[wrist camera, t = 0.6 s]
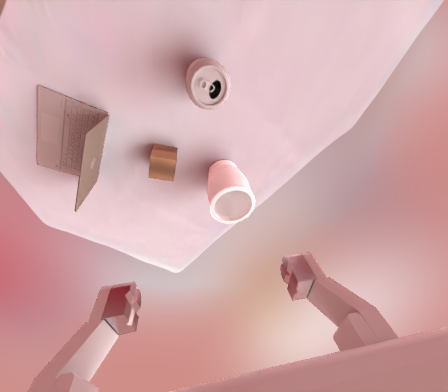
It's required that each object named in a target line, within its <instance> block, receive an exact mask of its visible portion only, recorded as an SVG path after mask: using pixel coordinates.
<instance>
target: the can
mask: <svg viewBox="0 0 448 392" xmlns="http://www.w3.org/2000/svg"><path fill="white" fill-rule="evenodd" d="M186 85H187V92H188V94H189V96H190V99H191V100H192V101H193V102H194V104H195V105H197V106H198V107H200V108H202V109H206V110H212V109H216V108H218V107H220V106H221V105H222V104H224V103H225V101H226V100H227V98H228V96H229V93H230V89H231V81H230V78H229V74H228V72H227V71H226V69H225V68H224V66H222V65H221V64H220V63H219V62H217V61H214V60H211V59H208V58H198V59H196V60H194V61H193V62H192V63H191V64H190V66H189V68H188V70H187V74H186Z"/></svg>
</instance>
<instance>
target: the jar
mask: <svg viewBox="0 0 448 392" xmlns="http://www.w3.org/2000/svg"><path fill="white" fill-rule="evenodd" d="M208 177H209V178H208V186H207V194H208V199H209V202H210V212H211V214H212V216H213V217H214V218H215V219H216V220H217V221H219V222H222V223H236V222H239V221H242V220H243V219H245V218H247V217H248V216H249V215H250V214H251V213H252V211H253V210H254V208H255V204H256V200H255V196H254V194H253V192H252V191H251V189H250V186H249V183H248V181H247V179H246V177H245V176H244V175H243V174H242V173H241V171H240V170H239V169H238V168H237V167H236V165H235V164H234V163H233V162H231V161H229V160H220V161H217V162H215V163H214V164H213V165H212V166H211V167H210V169H209V172H208Z"/></svg>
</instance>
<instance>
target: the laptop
mask: <svg viewBox="0 0 448 392" xmlns="http://www.w3.org/2000/svg"><path fill="white" fill-rule="evenodd" d="M109 116H110V114H109V113H107V112H105V111H102V110H100V109H97V108H96V109H95V107H93V108H92V106H90V105H87V104H85V103H82V102H80V101H77V100H75V99H72V98H70V97H67V96H65V95H62V94H60V93H57V92H54V91H52V90H49V89H47V88H44V87H42V86H39V85H38V91H37V164H38V165H41V166H45V167H48V168H52V169H56V170H59V171H63V172H66V173H70V174H74V175H77V176H79V183H78V190H77V198H76V205H75V212H76V211H77V210H78V208H79V207H80V205H81V204H82V202H83V201H84V199H85V198H86V196H87V195H88V194H89V192H90V191H91V189H92V188H93V186H94V185H95V183H96V182H97V179H98V175H99V169H100V163H101V158H102V153H103V147H104V142H105V137H106V132H107V127H108V122H109V121H108V120H109Z"/></svg>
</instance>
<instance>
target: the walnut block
mask: <svg viewBox="0 0 448 392" xmlns="http://www.w3.org/2000/svg"><path fill="white" fill-rule="evenodd" d="M176 161H177V148H175V147H169V146H164V145H159V144H154V146H153V149H152V152H151V155H150V167H149V178H154V179H161V180H168V181H173V180H174V174H175V167H176Z"/></svg>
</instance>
